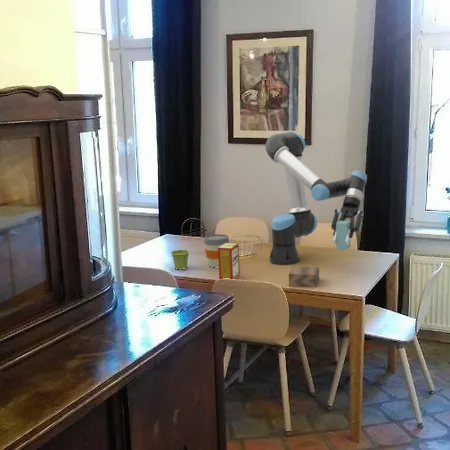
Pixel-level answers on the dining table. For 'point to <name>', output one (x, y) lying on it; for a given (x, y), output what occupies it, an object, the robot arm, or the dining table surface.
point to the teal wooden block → (342, 234)
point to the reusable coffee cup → (214, 247)
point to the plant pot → (180, 258)
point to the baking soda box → (228, 260)
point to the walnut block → (304, 276)
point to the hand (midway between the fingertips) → (340, 242)
